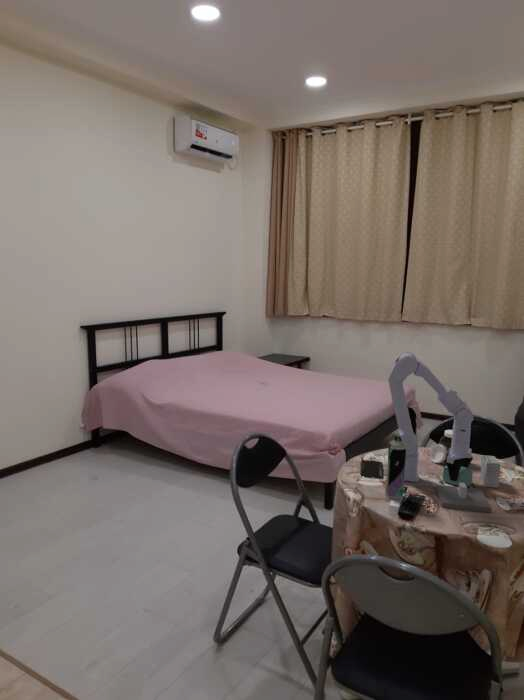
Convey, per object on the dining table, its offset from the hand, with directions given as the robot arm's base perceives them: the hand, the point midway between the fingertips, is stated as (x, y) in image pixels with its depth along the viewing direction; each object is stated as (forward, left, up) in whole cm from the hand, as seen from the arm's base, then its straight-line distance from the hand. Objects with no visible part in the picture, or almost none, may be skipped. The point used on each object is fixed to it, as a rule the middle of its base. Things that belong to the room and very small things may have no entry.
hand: (457, 478), depth 174 cm
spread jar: (0, +21, -2) cm, 21 cm away
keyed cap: (0, 0, -1) cm, 1 cm away
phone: (-29, +5, -2) cm, 29 cm away
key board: (-1, -14, -2) cm, 14 cm away
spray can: (-22, -16, -2) cm, 27 cm away
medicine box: (+11, +3, -2) cm, 12 cm away
